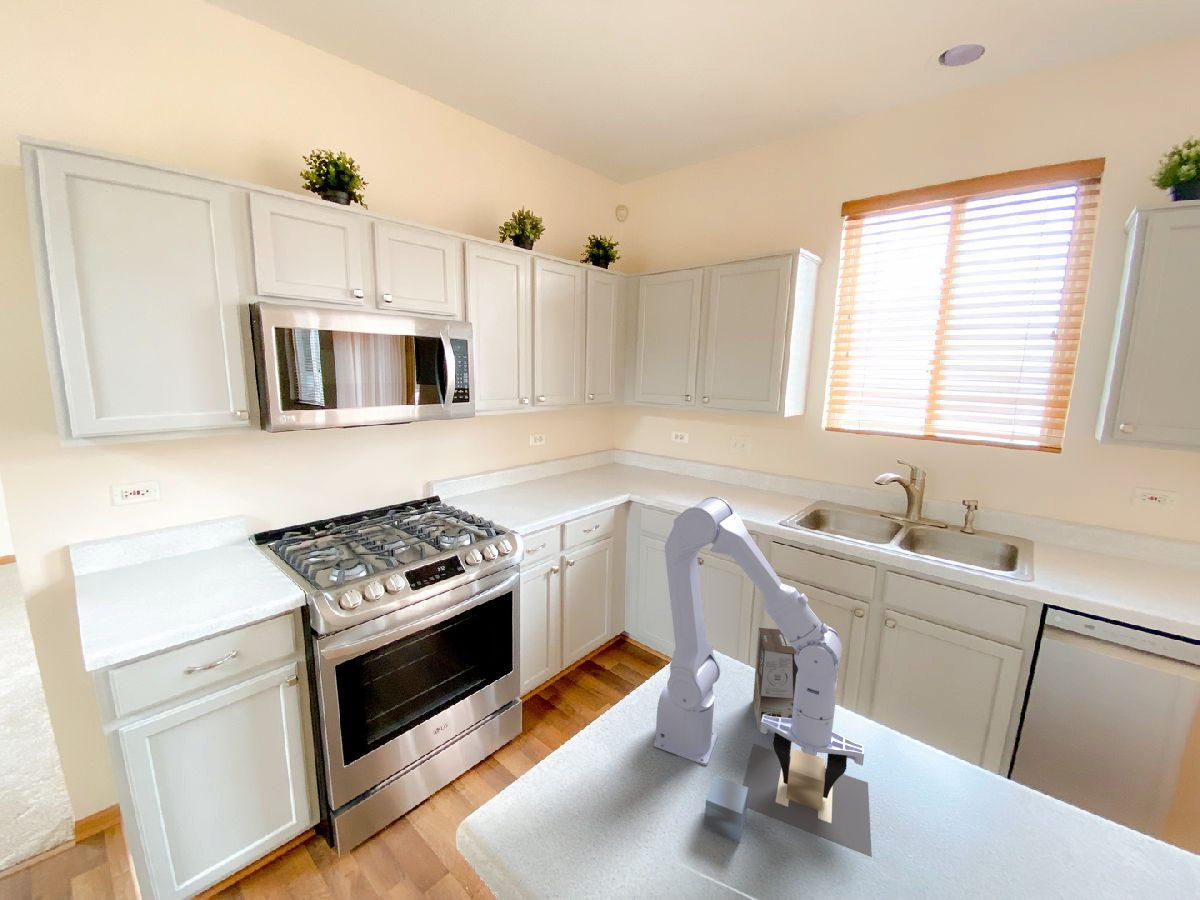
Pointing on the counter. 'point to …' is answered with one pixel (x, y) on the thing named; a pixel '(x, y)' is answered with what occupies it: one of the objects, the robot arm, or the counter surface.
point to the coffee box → (774, 676)
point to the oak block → (806, 779)
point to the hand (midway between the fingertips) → (805, 785)
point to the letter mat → (837, 820)
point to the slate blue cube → (726, 808)
